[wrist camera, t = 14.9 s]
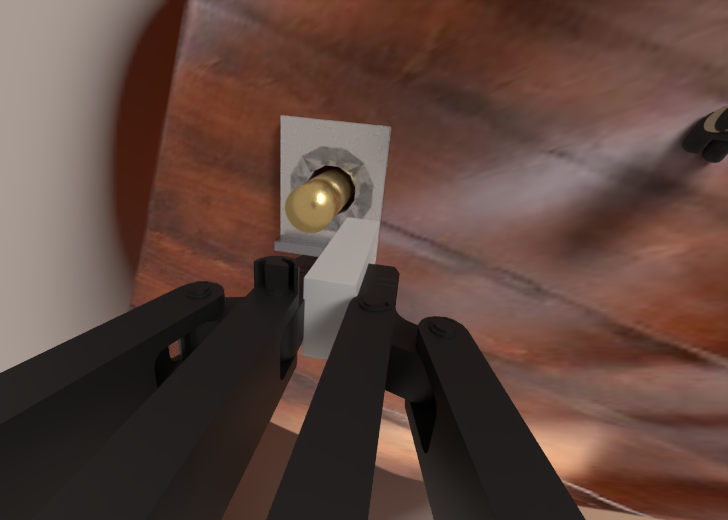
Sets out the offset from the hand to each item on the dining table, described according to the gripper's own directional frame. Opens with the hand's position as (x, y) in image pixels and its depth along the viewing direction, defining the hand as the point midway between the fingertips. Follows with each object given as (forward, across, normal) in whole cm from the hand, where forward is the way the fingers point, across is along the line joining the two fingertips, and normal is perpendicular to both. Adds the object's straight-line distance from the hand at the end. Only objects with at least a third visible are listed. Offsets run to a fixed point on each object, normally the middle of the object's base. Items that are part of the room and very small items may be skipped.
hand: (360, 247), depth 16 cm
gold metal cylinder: (+26, -7, -3) cm, 27 cm away
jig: (+26, -7, -3) cm, 27 cm away
